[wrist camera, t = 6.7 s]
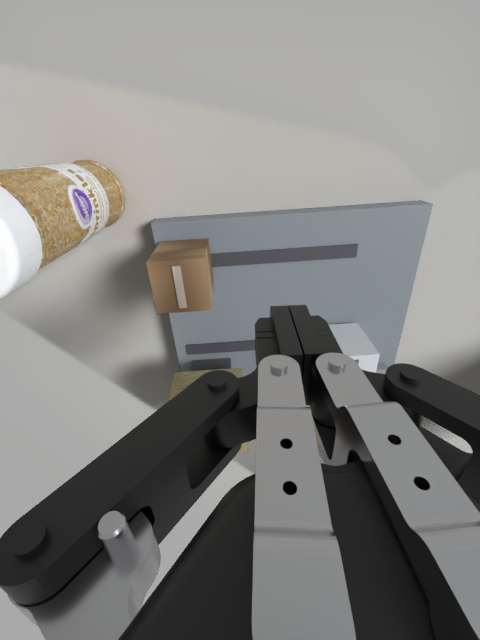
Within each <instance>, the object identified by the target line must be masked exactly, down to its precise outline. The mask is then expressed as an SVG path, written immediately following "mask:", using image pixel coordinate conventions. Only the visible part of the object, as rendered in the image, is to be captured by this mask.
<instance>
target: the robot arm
mask: <svg viewBox="0 0 480 640" xmlns="http://www.w3.org/2000/svg"><path fill="white" fill-rule="evenodd" d="M255 356H256V367H257V368H256V369H255V370H254V371H253V372H252V373H250V374H248V375H246V376H243V377H240V378H237V377H236V376H235V375H234V374H233V373H231V372H228V371H225V370H214V371H210V372H207V373H205V374H203V375H202V376H200V377H199V378H198V379H197V380H195V381H194V382H193V383H192V384H190V385H189V386H188V387H186V388H185V389H184V390H183V391H181V392H180V393H179V394H178V395H176V396H175V397H174V398H172V399H171V400H170V401H169V402H167V403H166V404H165V405H164V406H162V407H161V408H160V409H158V410H157V411H156V412H155V413H153V414H152V415H151V416H150V417H148V418H147V419H146V420H145V421H143V422H142V423H141V424H139V425H138V426H137V427H136V428H134V429H133V430H132V431H130V432H129V433H128V434H127V435H125V436H124V437H123V438H122V439H120V440H119V441H118V442H117V443H115V444H114V445H113V446H111V447H110V448H109V449H108V450H106V451H105V452H104V453H102V454H101V455H100V456H99V457H97V458H96V459H95V460H93V461H92V462H91V463H90V464H88V465H87V466H86V467H85V468H84V469H82V470H81V471H80V472H78V473H77V474H76V475H75V476H73V477H72V478H71V479H69V480H68V481H67V482H65V483H64V484H63V485H62V486H60V487H59V488H58V489H57V490H55V491H54V492H53V493H51V494H50V495H49V496H48V497H46V498H45V499H44V500H43V501H41V502H40V503H39V504H37V505H36V506H35V507H34V508H32V509H31V510H30V511H29V512H27V513H26V514H25V515H23V516H22V517H21V518H20V519H19V520H17V521H16V522H15V523H14V524H13V525H11V527H10V528H9V529H8V530H7V531H6V532H5V533H4V534H3V536H2V537H1V538H0V587H1V588H2V589H3V590H4V591H5V592H6V593H7V594H8V597H9V599H10V601H11V602H12V603H13V604H14V605H15V606H16V607H17V608H18V609H19V610H20V611H21V612H22V613H23V614H24V615H25V616H26V617H27V618H28V619H29V620H30V621H31V622H33V623H34V624H35V625H37V626H38V627H39V628H40V630H41V632H42V634H43V636H44V638H45V639H46V640H480V395H477V394H475V393H473V392H471V391H469V390H467V389H465V388H462V387H460V386H458V385H456V384H454V383H452V382H449V381H447V380H445V379H443V378H441V377H439V376H437V375H434V374H432V373H430V372H428V371H426V370H424V369H421V368H419V367H417V366H414V365H410V364H394V365H391V366H389V367H388V368H387V370H386V373H385V374H381V373H375V372H369V371H365V370H362V369H361V368H360V367H359V365H358V364H357V362H356V361H355V360H354V359H352V358H351V357H349V356H347V355H344V354H343V352H342V350H341V348H340V346H339V345H338V343H337V341H336V339H335V337H334V336H333V333H332V331H331V330H330V327H329V325H328V323H327V321H326V320H324V319H323V318H322V317H320V316H319V315H315V316H311V315H310V313H309V311H308V308H307V306H306V305H288V306H287V305H285V306H270V317H267V318H259V319H258V320H257V322H256V323H255ZM306 405H309V406H310V407H306ZM424 417H426V418H428V419H429V420H431V421H433V422H435V423H436V424H438V425H440V426H442V427H443V428H445V429H447V430H449V431H451V432H452V433H454V434H456V435H458V436H459V437H461V438H463V439H464V440H465V441H467V442H468V443H469V445H470V446H471V448H472V450H473V454H471V453H466V452H463V451H462V450H460V449H458V448H456V447H455V446H453V445H451V444H450V443H448V442H446V441H445V440H443V439H441V438H439V437H438V436H436V435H434V434H433V433H431V432H429V431H428V430H426V429H424V428H423V427H421V423H422V420H423V418H424ZM254 439H256V473H255V474H254V475H251V476H249V477H247V478H245V479H244V480H242V481H241V482H239V483H238V484H236V485H235V486H234V487H233V488H231V489H230V491H229V492H228V493H227V494H226V495H225V496H224V497H223V498H222V500H221V501H220V502H219V504H218V505H217V506H216V508H215V509H214V511H213V512H212V513H211V515H210V516H209V517H208V519H207V520H206V521H205V523H204V524H203V525H202V527H201V528H200V529H199V531H198V532H197V534H196V535H195V536H194V537H193V539H192V540H191V542H190V543H189V544H188V546H187V547H186V548H185V550H184V551H183V552H182V554H181V555H180V556H179V558H178V559H177V561H176V562H175V563H174V565H173V566H172V567H171V569H170V570H169V571H168V573H167V574H166V576H165V577H164V578H163V579H162V581H161V582H160V584H159V585H158V586H157V588H156V589H155V590H154V592H153V593H152V594H151V596H150V597H149V598H148V600H147V601H146V602H145V604H144V605H143V606H142V603H143V600H144V597H145V595H146V593H147V591H148V590H149V588H150V586H151V585H152V583H153V581H154V580H155V578H156V575H157V574H158V571H159V567H160V561H161V560H160V559H161V555H160V549H159V546H158V545H159V544H160V543H161V541H162V540H163V539H164V538H165V537H166V535H167V534H168V533H169V532H170V531H171V530H172V529H173V527H174V526H175V525H176V524H177V523H178V522H179V520H180V519H181V518H182V517H183V516H184V515H185V513H186V512H187V511H188V510H189V509H190V507H192V505H193V504H194V503H195V502H196V501H197V499H198V498H199V497H200V496H201V495H202V494H203V493H204V491H205V490H206V489H207V488H208V487H209V486H210V484H211V483H212V482H213V481H214V479H215V478H216V477H217V476H218V475H219V474H220V473H221V472H222V470H223V469H224V468H225V467H226V466H227V465H228V463H229V462H230V461H231V460H232V459H233V458H234V456H235V455H236V454H237V453H238V452H239V450H240V449H241V446H242V443H245V442H248V441H251V440H254ZM317 444H318V446H317ZM318 447H319V449H320V452H321V455H322V458H323V460H324V463H325V464H322V463H320V457H319V452H318ZM141 606H142V608H141Z"/></svg>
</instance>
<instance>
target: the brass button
mask: <svg viewBox="0 0 480 640" xmlns="http://www.w3.org/2000/svg"><path fill="white" fill-rule="evenodd" d="M217 370H225V371H228V372H231V373H233V374H234V375H235V376H236V377H237V378H240V377H243V373H242V368H232V369H217ZM210 371H214V370H202V371H187V372H175V373H174V377H173V381H172V385H171V390H170V394H169V398H168V402H169V401H170V400H171V399H172V398H174V397H175V396H176V395H178V394H179V393H180V392H181V391H183V390H184V389H185V388H186V387H188V386H189V385H190V384H192V383H193V382H194V381H195V380H197V379H198V378H199V377H200V376H202V375H203V374H205V373H207V372H210ZM238 453H248V447H247V442H245V443H242V446H241V449H240V450H239V452H238Z"/></svg>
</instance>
